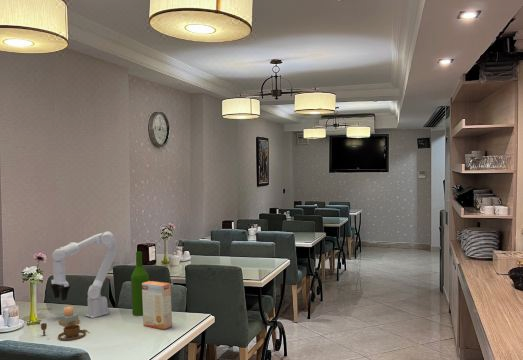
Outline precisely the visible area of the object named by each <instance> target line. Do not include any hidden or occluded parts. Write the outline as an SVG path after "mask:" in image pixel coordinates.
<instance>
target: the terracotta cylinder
mask: <svg viewBox="0 0 523 360" xmlns="http://www.w3.org/2000/svg"><path fill="white" fill-rule="evenodd" d="M74 314H75V312H74V306H73V305H67V306H64V307H63V315H64V316H66V317H67V316H72V315H74Z"/></svg>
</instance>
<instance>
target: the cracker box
mask: <svg viewBox="0 0 523 360" xmlns="http://www.w3.org/2000/svg"><path fill="white" fill-rule="evenodd" d="M171 291H172V290H171V283H170V282H162V281H154V280H152V281H151V280H149V281H148V282H144V283H142V299H143V316H142V317H143V318H142V319H143V321H142V322H143V324H142V325H143V326H144V327H147V328H149V327H150V328H153V329H159V330H162V331H163V330H167V329H169V328H172V327H173V318H172V317H173V315H172V296H171V295H172V292H171Z"/></svg>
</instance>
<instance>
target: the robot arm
mask: <svg viewBox="0 0 523 360" xmlns="http://www.w3.org/2000/svg"><path fill="white" fill-rule="evenodd" d="M93 244H98V245H100V244H102V245H103V246H104V247H105V249H106V250H107V252H106V254H105V257H104V258H103V261H102V263H101V265H100V268H99V270H98V273H97V274H96V277H95V279H94V280H93V283H92V284H90V285H89V287H88V291H87V313H86V314H84V316H86V317H89V318H91V319H94V318H97V317H101V316H104V315H108V314H109V312H108V311H109V310H108V309H109V308H108V299H107V297H106V296H102V295H101V292H102V287H103V284H104V282H105V279H106V277H107V275H108V273H109V271H110V269H111V266H112V264H113V262H114V259H115V258H116V256H117V253H118V247H117V240H116V236H115V235H114V234H113V233H112V232H111V231H108V230H107V231H104V232H101V233H97V234H94V235H92V236H90V237H88V238H86V239H84V240H82V241H80V242H75V241H74V242H72V241H71V242H69V243H68V244H67V245H65V246H60V247H59V248H56V249H55V250H54V251H52V254H51V259H52V260H53V261H52V271H53V272H52V273H53V275H52V276H53V279H51V280H50V281H51V284H50V285H49V287H50V289H51V291H52V294H53V297H54V299H58V298H61V301H66V300H67V298H68V293H69V290H70V288H71V285H70V284H69V282H68V281H67V279H66V278H67V277H66V264H65V263H66V262H65V258H68V257H71V256H73V255H76V254H78V253H79V252H80V250H81V249H83V248H85V247H88V246H90V245H93Z"/></svg>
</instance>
